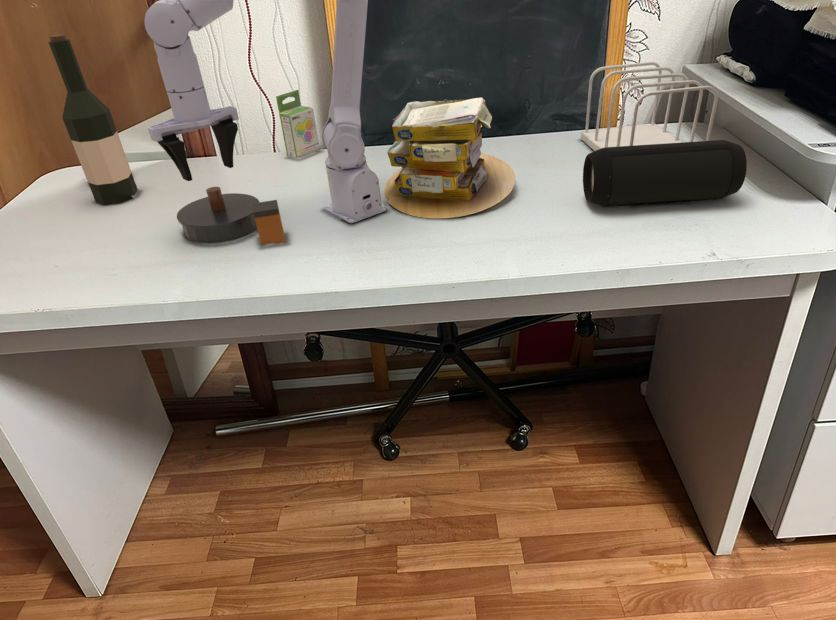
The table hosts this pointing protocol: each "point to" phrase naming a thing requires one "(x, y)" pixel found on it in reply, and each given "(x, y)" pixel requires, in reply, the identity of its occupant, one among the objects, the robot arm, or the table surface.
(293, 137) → the ink box
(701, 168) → the portable speaker
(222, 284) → the table surface
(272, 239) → the spice jar
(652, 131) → the file sorter
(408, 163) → the stacked yellow boxes
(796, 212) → the table surface
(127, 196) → the wine bottle
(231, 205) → the lid
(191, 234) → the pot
